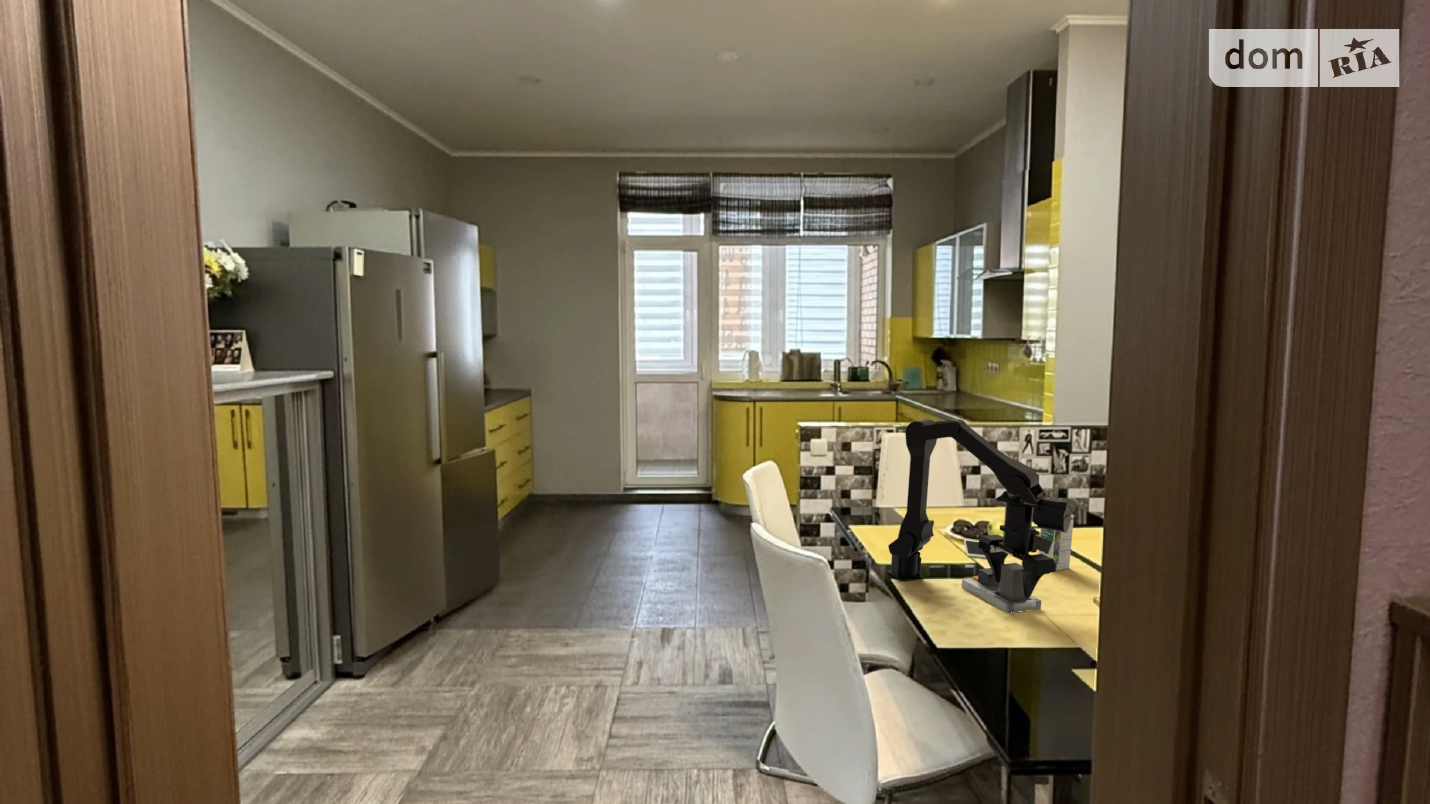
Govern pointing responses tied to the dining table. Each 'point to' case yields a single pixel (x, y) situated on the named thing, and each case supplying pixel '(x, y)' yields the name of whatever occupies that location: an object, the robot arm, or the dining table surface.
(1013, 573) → the plug
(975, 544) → the smartphone
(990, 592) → the grey board with hole
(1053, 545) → the syrup box
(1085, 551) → the dining table surface
